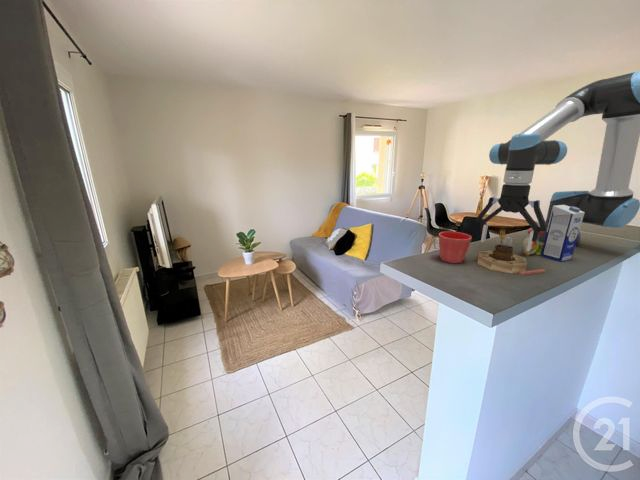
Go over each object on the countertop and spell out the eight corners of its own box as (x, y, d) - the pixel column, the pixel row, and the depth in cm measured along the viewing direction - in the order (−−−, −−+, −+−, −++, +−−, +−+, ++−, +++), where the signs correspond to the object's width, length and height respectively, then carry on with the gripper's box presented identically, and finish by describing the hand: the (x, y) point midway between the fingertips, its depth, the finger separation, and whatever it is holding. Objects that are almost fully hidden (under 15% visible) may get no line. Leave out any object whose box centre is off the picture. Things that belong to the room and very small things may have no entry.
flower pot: (467, 266, 93) (471, 240, 91) (434, 261, 99) (437, 236, 96) (468, 257, 102) (472, 233, 100) (437, 253, 107) (440, 230, 105)
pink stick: (542, 271, 89) (543, 269, 89) (545, 272, 89) (545, 270, 88) (518, 274, 87) (519, 271, 87) (521, 275, 86) (521, 272, 86)
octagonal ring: (499, 256, 103) (500, 249, 102) (534, 270, 90) (536, 262, 89) (468, 259, 100) (470, 252, 99) (501, 274, 87) (502, 266, 86)
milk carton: (551, 253, 106) (563, 204, 100) (571, 259, 100) (586, 206, 94) (540, 256, 103) (552, 205, 98) (560, 261, 97) (575, 208, 92)
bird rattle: (534, 263, 102) (550, 251, 104) (532, 239, 98) (549, 227, 100) (518, 258, 108) (533, 247, 109) (515, 234, 103) (531, 224, 105)
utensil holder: (495, 267, 92) (502, 234, 89) (487, 261, 98) (493, 230, 95) (514, 268, 91) (521, 235, 88) (504, 262, 97) (511, 230, 94)
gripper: (471, 183, 93) (462, 240, 99) (566, 187, 76) (548, 256, 82) (478, 181, 98) (470, 236, 104) (568, 185, 81) (552, 251, 87)
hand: (504, 245), depth 93 cm, fingers open, 13 cm apart
